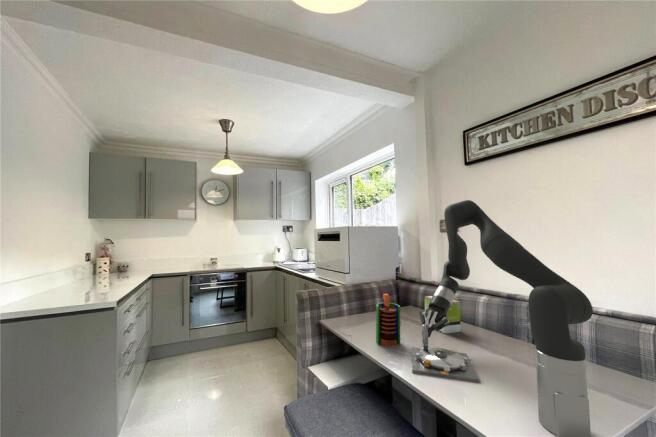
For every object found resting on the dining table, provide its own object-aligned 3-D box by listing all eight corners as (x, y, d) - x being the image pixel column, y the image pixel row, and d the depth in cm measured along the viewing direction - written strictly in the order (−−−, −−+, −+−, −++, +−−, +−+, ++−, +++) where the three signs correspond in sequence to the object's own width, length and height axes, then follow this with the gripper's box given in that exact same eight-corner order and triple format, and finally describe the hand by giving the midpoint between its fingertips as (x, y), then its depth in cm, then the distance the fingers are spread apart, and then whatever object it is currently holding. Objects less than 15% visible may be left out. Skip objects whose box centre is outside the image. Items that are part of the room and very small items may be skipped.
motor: (381, 347, 111) (381, 297, 113) (372, 339, 120) (372, 293, 121) (403, 345, 114) (402, 296, 116) (392, 337, 123) (392, 292, 124)
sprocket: (479, 368, 91) (478, 336, 92) (435, 374, 87) (434, 340, 88) (445, 348, 107) (445, 321, 108) (407, 352, 103) (407, 324, 104)
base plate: (479, 382, 85) (479, 378, 85) (412, 372, 90) (412, 369, 90) (466, 356, 104) (466, 352, 104) (411, 349, 109) (411, 346, 109)
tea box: (424, 324, 142) (423, 295, 143) (440, 322, 145) (439, 294, 146) (444, 334, 128) (443, 302, 129) (461, 332, 131) (460, 300, 132)
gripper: (461, 309, 109) (444, 348, 101) (431, 302, 119) (414, 336, 111) (454, 298, 106) (436, 337, 98) (424, 291, 116) (406, 326, 109)
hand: (424, 336), depth 105 cm, fingers closed
